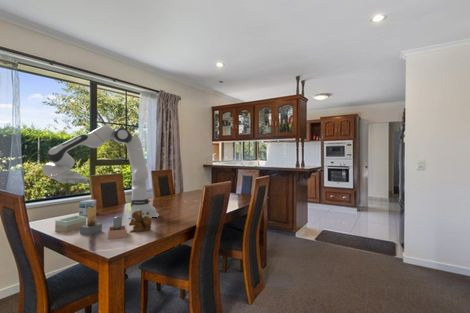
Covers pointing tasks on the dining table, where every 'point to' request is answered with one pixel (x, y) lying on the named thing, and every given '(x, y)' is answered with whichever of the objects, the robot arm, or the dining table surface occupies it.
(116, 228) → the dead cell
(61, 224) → the trough
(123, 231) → the pink square tray
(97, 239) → the dining table surface
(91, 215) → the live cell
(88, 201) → the light bulb box
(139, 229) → the stuffed squirrel
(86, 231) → the cradle
